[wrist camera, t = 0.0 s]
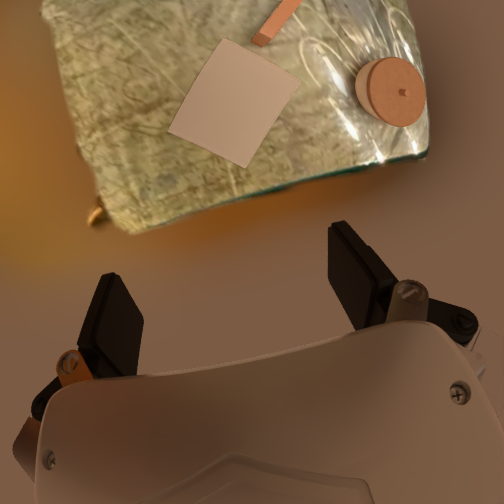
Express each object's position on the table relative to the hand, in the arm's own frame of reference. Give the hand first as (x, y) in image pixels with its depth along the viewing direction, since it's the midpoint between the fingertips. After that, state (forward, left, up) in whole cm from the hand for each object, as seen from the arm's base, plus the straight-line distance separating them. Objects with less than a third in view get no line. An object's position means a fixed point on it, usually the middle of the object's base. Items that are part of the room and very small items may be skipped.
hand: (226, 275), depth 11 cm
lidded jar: (-21, +17, -32) cm, 42 cm away
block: (-20, -2, -31) cm, 37 cm away
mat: (-6, 0, -31) cm, 32 cm away
